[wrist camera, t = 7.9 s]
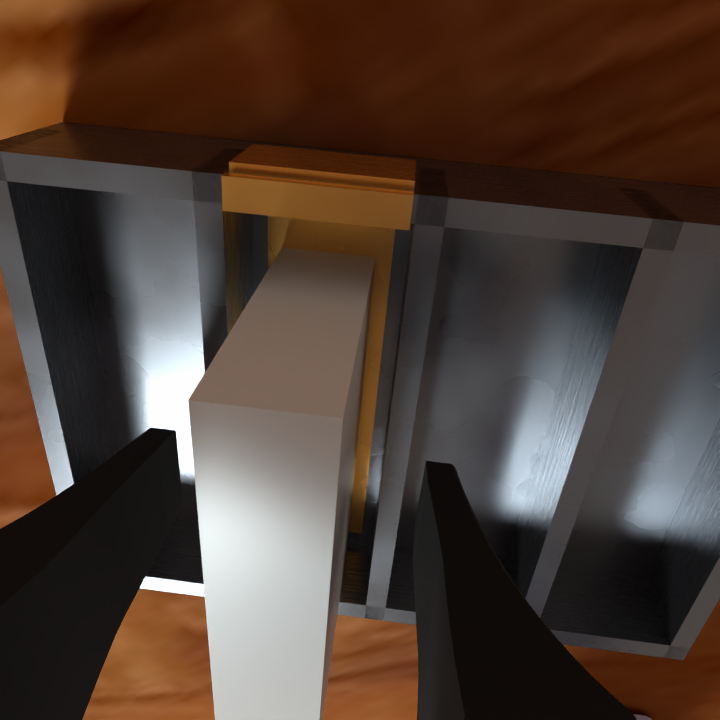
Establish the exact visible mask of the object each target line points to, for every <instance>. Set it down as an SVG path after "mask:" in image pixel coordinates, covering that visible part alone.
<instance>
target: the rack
mask: <svg viewBox="0 0 720 720" xmlns="http://www.w3.org/2000/svg"><path fill="white" fill-rule="evenodd" d="M282 247H284V248H294V249H303V250H312V251H322V252H331V253H340V254H349V255H359V256H368V257H375V266H374V277H373V287H372V298H371V308H370V319H369V329H368V339H367V350H366V360H365V371H364V381H363V392H362V402H361V412H360V423H359V433H358V444H357V454H356V464H355V475H354V485H353V496H352V506H351V517H350V527H349V537H348V544H347V551H346V558H345V565H344V571H343V578H342V585H341V592H340V599H339V606H338V613H337V614H338V615H346V616H353V617H361V618H368V619H376V620H384V621H391V622H399V623H406V624H414V625H416V610H415V593H414V576H413V551H414V532H415V521H416V515H417V509H418V503H419V498H420V492H421V486H422V480H423V475H424V469H425V463H426V461H432V462H440V463H449V464H453V466H454V467H455V468H456V470H457V474H458V476H459V479H460V482H461V484H462V487H463V489H464V492H465V494H466V497H467V499H468V501H469V503H470V505H471V508H472V510H473V512H474V514H475V516H476V518H477V520H478V522H479V524H480V526H481V528H482V530H483V532H484V534H485V535H486V537H487V539H488V541H489V543H490V545H491V546H492V548H493V550H494V552H495V553H496V555H497V557H498V558H499V560H500V562H501V563H502V565H503V567H504V568H505V570H506V571H507V573H508V574H509V576H510V577H511V579H512V580H513V582H514V583H515V585H516V586H517V588H518V589H519V591H520V592H521V593H522V595H523V596H524V598H525V599H526V600H527V602H528V603H529V604H530V606H531V607H532V608H533V610H534V611H535V612H536V614H537V615H538V616H539V617H540V619H541V620H542V621H543V623H544V624H545V625H546V626H547V627H548V628H549V629H550V631H551V632H552V633H553V634H554V635H555V636H556V638H557V639H558V640H559V641H560V642H561V643H562V644H564V645H572V646H579V647H587V648H594V649H602V650H609V651H617V652H625V653H632V654H640V655H647V656H655V657H662V658H670V659H677V660H684V659H685V657H686V655H687V653H688V652H689V650H690V648H691V647H692V645H693V643H694V642H695V640H696V638H697V636H698V635H699V633H700V631H701V630H702V628H703V626H704V625H705V623H706V621H707V620H708V618H709V616H710V614H711V613H712V611H713V609H714V608H715V606H716V604H717V603H718V601H719V599H720V188H710V187H700V186H690V185H681V184H671V183H661V182H651V181H641V180H631V179H621V178H611V177H601V176H591V175H581V174H571V173H561V172H551V171H541V170H531V169H521V168H511V167H501V166H491V165H481V164H471V163H461V162H451V161H441V160H431V159H421V158H411V157H401V156H392V155H382V154H372V153H362V152H352V151H342V150H332V149H322V148H312V147H302V146H292V145H282V144H272V143H262V142H252V141H242V140H232V139H222V138H212V137H202V136H192V135H182V134H172V133H162V132H152V131H142V130H132V129H122V128H113V127H103V126H93V125H83V124H73V123H63V122H61V123H58V124H54V125H51V126H48V127H44V128H41V129H37V130H34V131H31V132H27V133H24V134H20V135H17V136H13V137H10V138H7V139H3V140H0V266H1V270H2V274H3V278H4V282H5V286H6V290H7V294H8V298H9V303H10V307H11V311H12V315H13V319H14V323H15V327H16V331H17V335H18V339H19V343H20V347H21V352H22V356H23V360H24V364H25V368H26V372H27V376H28V380H29V384H30V388H31V392H32V396H33V401H34V405H35V409H36V413H37V417H38V421H39V425H40V429H41V433H42V437H43V441H44V445H45V450H46V454H47V458H48V462H49V466H50V470H51V474H52V478H53V482H54V486H55V490H56V494H57V495H58V494H59V493H61V492H62V491H64V490H65V489H67V488H68V487H70V486H71V485H73V484H74V483H76V482H77V481H79V480H81V479H82V478H83V477H85V476H86V475H87V474H89V473H90V472H92V471H93V470H94V469H96V468H97V467H98V466H100V465H101V464H103V463H104V462H105V461H107V460H108V459H109V458H111V457H112V456H113V455H115V454H116V453H117V452H119V451H120V450H121V449H122V448H124V447H125V446H126V445H128V444H129V443H130V442H132V441H133V440H134V439H136V438H137V437H138V436H140V435H141V434H142V433H144V432H145V431H147V430H148V429H149V428H151V427H152V428H160V429H168V430H176V437H177V447H178V457H179V467H180V477H181V487H182V497H181V500H180V503H179V505H178V508H177V511H176V514H175V517H174V519H173V522H172V524H171V527H170V529H169V532H168V534H167V536H166V538H165V540H164V542H163V544H162V546H161V548H160V550H159V552H158V554H157V556H156V558H155V559H154V561H153V563H152V565H151V567H150V569H149V571H148V573H147V575H146V576H145V578H144V580H143V582H142V584H141V586H140V588H142V589H150V590H158V591H165V592H173V593H180V594H188V595H195V596H203V597H205V593H204V581H203V569H202V557H201V546H200V534H199V522H198V510H197V498H196V486H195V474H194V462H193V450H192V439H191V427H190V415H189V403H188V400H189V398H190V396H191V395H192V393H193V391H194V390H195V388H196V387H197V385H198V383H199V382H200V380H201V378H202V377H203V375H204V374H205V372H206V370H207V369H208V367H209V365H210V364H211V362H212V361H213V359H214V357H215V356H216V354H217V352H218V351H219V349H220V348H221V346H222V344H223V343H224V341H225V339H226V338H227V336H228V335H229V333H230V331H231V330H232V328H233V326H234V325H235V323H236V321H237V320H238V318H239V317H240V315H241V313H242V312H243V310H244V308H245V307H246V305H247V304H248V302H249V300H250V299H251V297H252V295H253V294H254V292H255V291H256V289H257V287H258V286H259V284H260V282H261V281H262V279H263V278H264V276H265V274H266V273H267V271H268V269H269V268H270V266H271V265H272V263H273V261H274V260H275V258H276V256H277V255H278V253H279V251H280V250H281V248H282Z"/></svg>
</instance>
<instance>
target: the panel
mask: <svg viewBox="0 0 720 720" xmlns="http://www.w3.org/2000/svg"><path fill="white" fill-rule="evenodd" d="M374 266H375V257H368V256H359V255H349V254H340V253H331V252H322V251H312V250H303V249H294V248H284V247H282V248H281V250H280V251H279V253H278V255H277V256H276V258H275V260H274V261H273V263H272V265H271V266H270V268H269V269H268V271H267V273H266V274H265V276H264V278H263V279H262V281H261V282H260V284H259V286H258V287H257V289H256V291H255V292H254V294H253V295H252V297H251V299H250V300H249V302H248V304H247V305H246V307H245V308H244V310H243V312H242V313H241V315H240V317H239V318H238V320H237V321H236V323H235V325H234V326H233V328H232V330H231V331H230V333H229V335H228V336H227V338H226V339H225V341H224V343H223V344H222V346H221V348H220V349H219V351H218V352H217V354H216V356H215V357H214V359H213V361H212V362H211V364H210V365H209V367H208V369H207V370H206V372H205V374H204V375H203V377H202V378H201V380H200V382H199V383H198V385H197V387H196V388H195V390H194V391H193V393H192V395H191V396H190V398H189V400H188V403H189V415H190V427H191V439H192V450H193V462H194V474H195V486H196V498H197V510H198V522H199V534H200V546H201V557H202V569H203V581H204V593H205V605H206V617H207V629H208V641H209V652H210V664H211V676H212V688H213V700H214V712H215V720H322V716H323V710H324V703H325V696H326V689H327V682H328V675H329V668H330V661H331V654H332V647H333V640H334V634H335V627H336V620H337V613H338V606H339V599H340V592H341V585H342V578H343V571H344V565H345V558H346V551H347V544H348V537H349V527H350V517H351V506H352V496H353V485H354V475H355V464H356V454H357V444H358V433H359V423H360V412H361V402H362V392H363V381H364V371H365V360H366V350H367V339H368V329H369V319H370V308H371V298H372V287H373V277H374Z"/></svg>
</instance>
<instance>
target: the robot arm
mask: <svg viewBox="0 0 720 720" xmlns="http://www.w3.org/2000/svg"><path fill="white" fill-rule="evenodd" d="M181 497H182V487H181V477H180V467H179V457H178V447H177V437H176V430H168V429H160V428H152V427H151V428H149V429H148V430H147V431H145V432H144V433H142V434H141V435H140V436H138V437H137V438H136V439H134V440H133V441H132V442H130V443H129V444H128V445H126V446H125V447H124V448H122V449H121V450H120V451H119V452H117V453H116V454H115V455H113V456H112V457H111V458H109V459H108V460H107V461H105V462H104V463H103V464H101V465H100V466H98V467H97V468H96V469H94V470H93V471H92V472H90V473H89V474H87V475H86V476H85V477H83V478H82V479H81V480H79V481H77V482H76V483H74V484H73V485H71V486H70V487H68V488H67V489H65V490H64V491H62V492H61V493H59V494H58V495H56V496H55V497H53V498H52V499H50V500H49V501H47V502H46V503H44V504H43V505H41V506H40V507H38V508H36V509H35V510H33V511H31V512H30V513H28V514H26V515H24V516H23V517H21V518H19V519H17V520H16V521H14V522H12V523H10V524H8V525H7V526H5V527H3V528H1V529H0V720H82V719H83V716H84V713H85V711H86V708H87V706H88V703H89V700H90V698H91V695H92V693H93V690H94V687H95V685H96V682H97V680H98V677H99V674H100V672H101V669H102V667H103V665H104V662H105V660H106V657H107V655H108V652H109V650H110V647H111V645H112V642H113V640H114V638H115V635H116V633H117V631H118V629H119V627H120V625H121V622H122V620H123V618H124V616H125V614H126V612H127V610H128V609H129V607H130V605H131V603H132V601H133V599H134V597H135V595H136V593H137V592H138V590H139V588H140V586H141V584H142V582H143V580H144V578H145V576H146V575H147V573H148V571H149V569H150V567H151V565H152V563H153V561H154V559H155V558H156V556H157V554H158V552H159V550H160V548H161V546H162V544H163V542H164V540H165V538H166V536H167V534H168V532H169V529H170V527H171V524H172V522H173V519H174V517H175V514H176V511H177V508H178V505H179V503H180V500H181ZM413 576H414V593H415V610H416V626H417V643H418V669H419V680H418V711H417V720H652V719H651V718H649V717H647V716H644V715H638V714H632V713H631V712H630V711H629V710H628V709H627V708H626V707H624V706H623V705H622V704H621V703H620V702H619V701H618V700H617V699H616V698H615V697H614V696H613V695H611V694H610V693H609V692H608V691H607V690H606V689H605V688H604V687H603V686H602V685H601V684H600V683H598V682H597V681H596V680H595V679H594V678H593V677H592V676H591V675H590V674H589V673H588V672H587V671H586V670H585V669H584V668H583V667H582V666H581V665H580V663H579V662H578V661H577V660H576V659H575V658H574V657H573V656H572V655H571V654H570V653H569V652H568V650H567V649H566V648H565V647H564V646H563V645H562V643H561V642H560V641H559V640H558V639H557V638H556V636H555V635H554V634H553V633H552V632H551V631H550V629H549V628H548V627H547V626H546V625H545V624H544V623H543V621H542V620H541V619H540V617H539V616H538V615H537V614H536V612H535V611H534V610H533V608H532V607H531V606H530V604H529V603H528V602H527V600H526V599H525V598H524V596H523V595H522V593H521V592H520V591H519V589H518V588H517V586H516V585H515V583H514V582H513V580H512V579H511V577H510V576H509V574H508V573H507V571H506V570H505V568H504V567H503V565H502V563H501V562H500V560H499V558H498V557H497V555H496V553H495V552H494V550H493V548H492V546H491V545H490V543H489V541H488V539H487V537H486V535H485V534H484V532H483V530H482V528H481V526H480V524H479V522H478V520H477V518H476V516H475V514H474V512H473V510H472V508H471V505H470V503H469V501H468V499H467V497H466V494H465V492H464V489H463V487H462V484H461V482H460V479H459V476H458V474H457V470H456V468H455V467H454V466H453V464H449V463H440V462H432V461H426V463H425V469H424V475H423V480H422V486H421V492H420V498H419V503H418V509H417V515H416V521H415V532H414V551H413Z"/></svg>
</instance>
